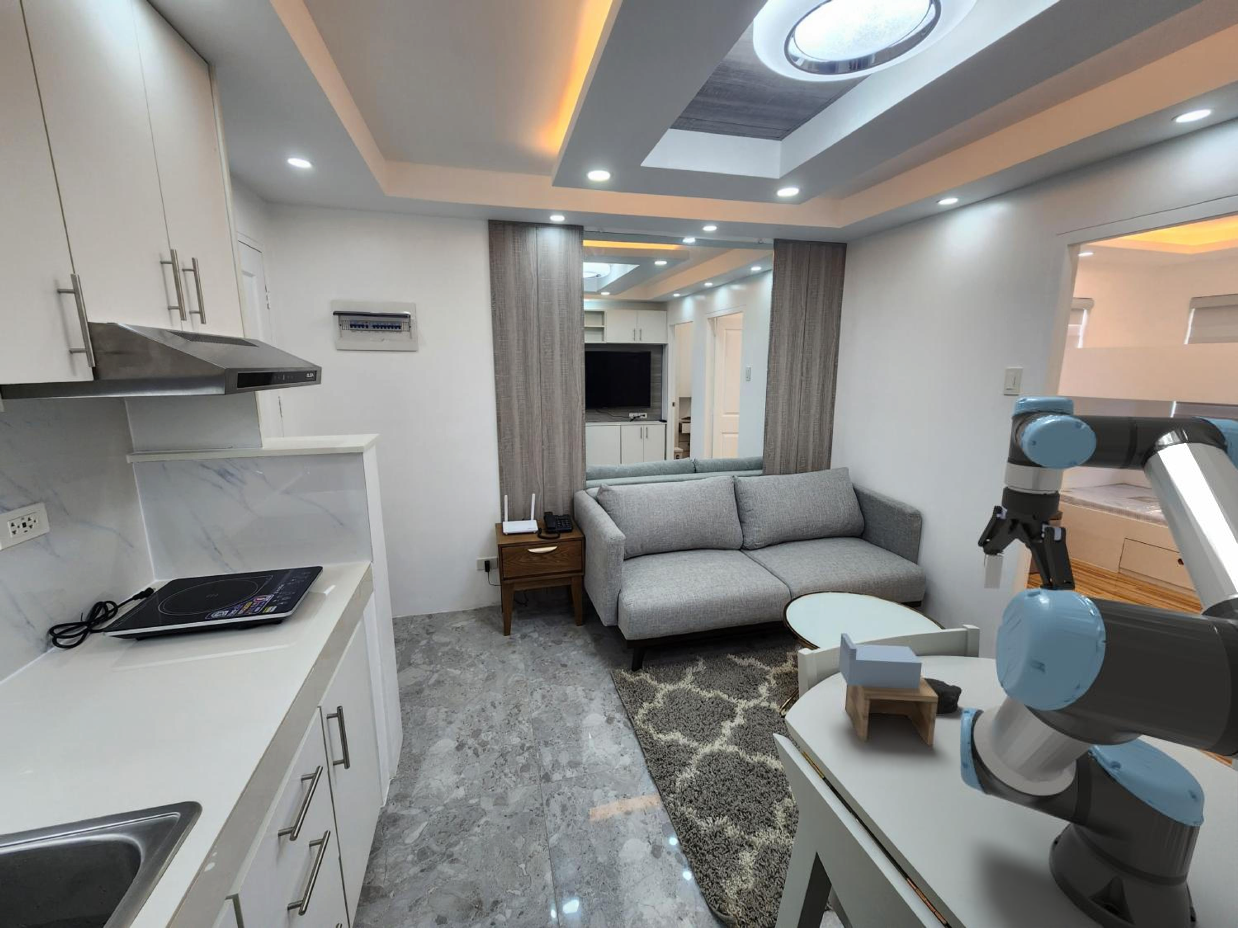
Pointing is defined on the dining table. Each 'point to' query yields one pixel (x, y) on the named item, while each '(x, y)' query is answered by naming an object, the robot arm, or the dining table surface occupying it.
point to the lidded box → (878, 665)
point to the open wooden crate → (893, 706)
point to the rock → (945, 695)
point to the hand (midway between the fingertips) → (1014, 604)
